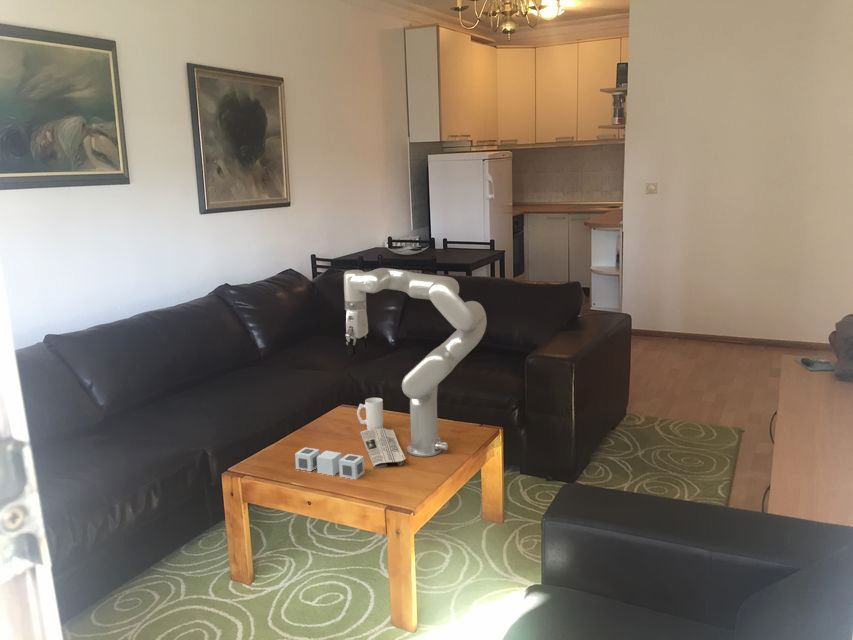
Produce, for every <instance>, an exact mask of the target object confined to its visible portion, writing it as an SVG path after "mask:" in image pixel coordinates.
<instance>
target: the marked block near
mask: <svg viewBox="0 0 853 640" xmlns="http://www.w3.org/2000/svg"><path fill="white" fill-rule="evenodd" d="M338 473H339V478H341V477H345V478H344V479H347V478H350V479H349V480H353V479H355V480H354V481H357V480H358V479H359V478H360V477H361V476H363V475H364V474H365V457H364V455H357V454H352V453H347V454H346V455H344V456H342V458H341V459H340V460H339V472H338Z"/></svg>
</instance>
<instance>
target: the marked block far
mask: <svg viewBox="0 0 853 640" xmlns="http://www.w3.org/2000/svg"><path fill="white" fill-rule="evenodd" d="M320 451H321V450H320V449H317V448H311V447H306V446H305V447H303V448H301V449H300V450H298V451H297V452H295V454H294V459H295V470H296V469H301V470H307V471H312V470H314V469H316V468H317V456H319V455H320V454H321V452H320ZM316 470H317V469H316ZM314 471H315V470H314Z"/></svg>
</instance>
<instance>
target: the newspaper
mask: <svg viewBox="0 0 853 640" xmlns="http://www.w3.org/2000/svg"><path fill="white" fill-rule="evenodd" d="M360 436H362V437H361V439H362V441H363V444H364V446H365V449H366V452H367V455H368V457H369V459H370V462H371V464H372V467H373V468H374V469H378V468H386V467H388V465H387V464H386V463H396V465H398V466H402V465H404V463H405V462H404V460H406V456H405V454H404V452H403V450H402V448H401V446H400V444H399V441H398V439H397V436H396V433H395V431H394V429H388V428H385V427H383V428H380V429H369V430H367V429H365V430H362V431H360Z"/></svg>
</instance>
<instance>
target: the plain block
mask: <svg viewBox="0 0 853 640" xmlns="http://www.w3.org/2000/svg"><path fill="white" fill-rule="evenodd" d="M341 458H343V456H342V452H339V451H338V452H337V451H331V450H324V451H323V452H321V453H320V455H319V456H317V469H316V471H317V474H318V473H322V474H321V475H323V474H327V475H326V476H329V475H332V476H331V477H334V476H335V475H337V474H338V473H339V460H340V459H341ZM336 473H337V474H336ZM333 475H334V476H333Z"/></svg>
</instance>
